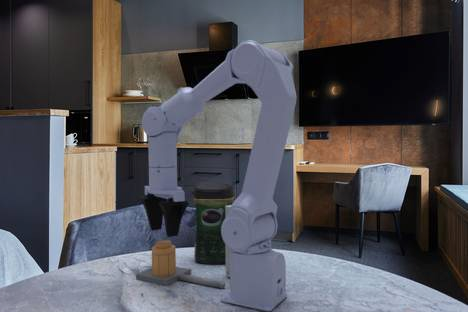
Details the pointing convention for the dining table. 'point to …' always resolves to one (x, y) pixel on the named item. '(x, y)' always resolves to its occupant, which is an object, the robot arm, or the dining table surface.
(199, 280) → the gray square paddle
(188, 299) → the dining table surface
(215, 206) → the coffee jar
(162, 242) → the wire nut
